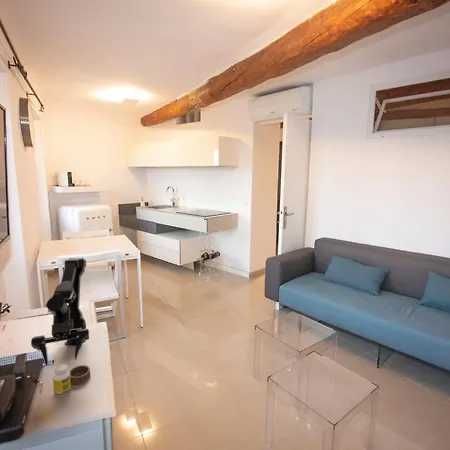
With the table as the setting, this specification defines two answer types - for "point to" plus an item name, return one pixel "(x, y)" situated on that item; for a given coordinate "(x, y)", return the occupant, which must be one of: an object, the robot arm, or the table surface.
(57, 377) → the supplement bottle
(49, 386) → the table surface
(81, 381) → the holder
